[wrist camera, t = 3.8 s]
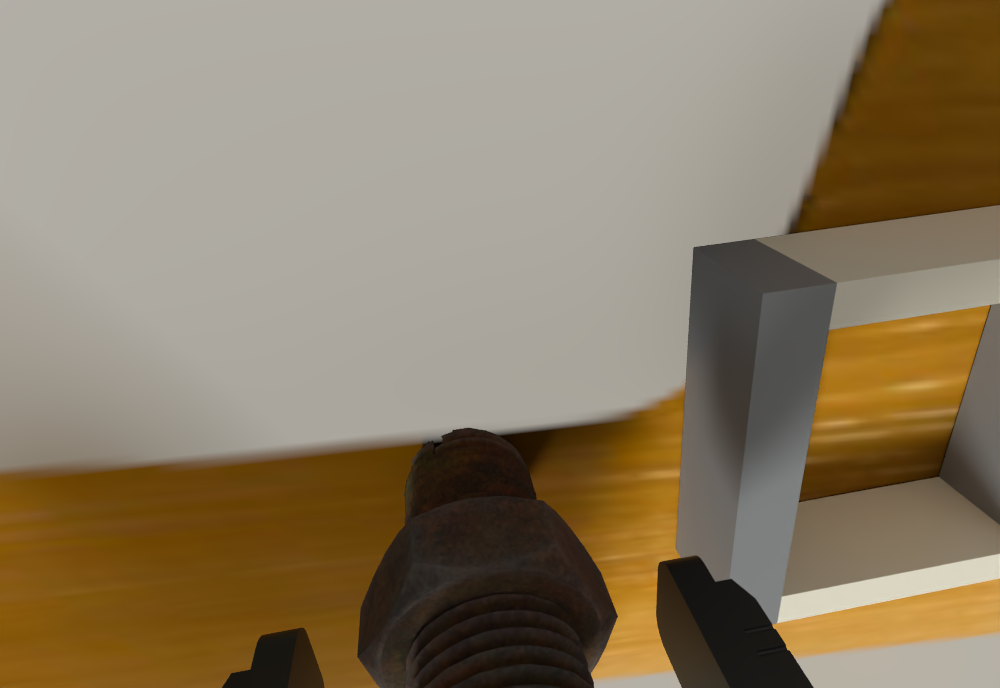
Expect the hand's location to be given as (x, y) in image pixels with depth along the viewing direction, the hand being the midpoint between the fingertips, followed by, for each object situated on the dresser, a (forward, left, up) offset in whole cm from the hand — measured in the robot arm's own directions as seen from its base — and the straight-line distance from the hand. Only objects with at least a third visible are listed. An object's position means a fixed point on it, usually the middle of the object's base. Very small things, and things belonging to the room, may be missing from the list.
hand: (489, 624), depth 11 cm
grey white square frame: (+11, +1, -5) cm, 12 cm away
